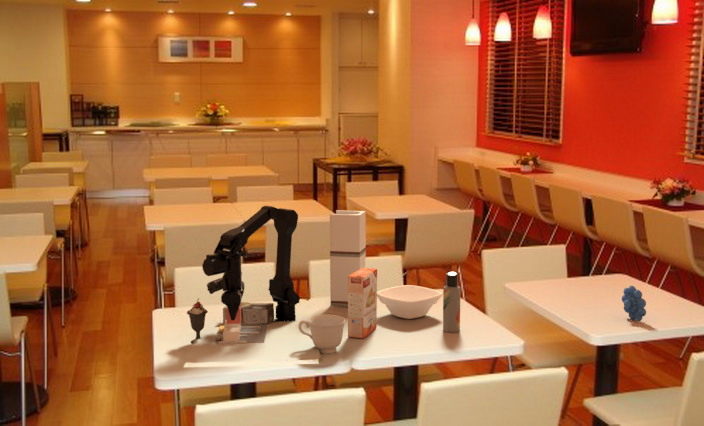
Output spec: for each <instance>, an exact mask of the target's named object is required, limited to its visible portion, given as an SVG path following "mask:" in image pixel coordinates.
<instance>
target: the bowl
mask: <svg viewBox="0 0 704 426" xmlns="http://www.w3.org/2000/svg"><path fill="white" fill-rule="evenodd" d="M441 297H443V293H442V292H441V291H439V290H436V289H432V288H430V287H425V286H419V285H414V284H413V285H412V284H406V285H405V284H404V285H398V286H397V285H396V286H392V287H388V288H384V289H383V288H382V289H381V290H377V299H378V300H379V301H380V303H382V304H383V305H385V307H386V308H387V310H388V311H389V313H390V314H391V315H393V316H395V317H399V318H403V319H408V320H410V319H417V318H421V317H424V316H426V315H427V314H428V313H429V311H430V310H431V309H432V307H433V306H434V305H436V304H437V303H438V302H439V300H440V299H441Z"/></svg>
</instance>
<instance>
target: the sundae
mask: <svg viewBox="0 0 704 426" xmlns="http://www.w3.org/2000/svg"><path fill="white" fill-rule="evenodd" d="M199 300H200V298H199V297H198V298H197V300H196V303H193V305H192V307H191V309H189V310H187V311H186V315H188V316H189V320H190V327H191V329H192V331H194V332H195V338H194V339H193V340H190V343H191V344H194V343H195V341H196V340H201V339H202V338H201V331H202V330H203V329H204V328H205V321H206V315H207V313H209V312H208V310H207V309H206V308H205V307H204V305H203V304H202V303H201V302H200V301H199Z"/></svg>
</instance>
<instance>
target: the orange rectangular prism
mask: <svg viewBox="0 0 704 426" xmlns="http://www.w3.org/2000/svg"><path fill="white" fill-rule="evenodd" d="M226 319H227V324H239V323H241V305H240V306H239V309H238V312H237V315H236V317H235V320H231V318H230V314H229V310H228V307H227V308H226ZM241 324H242V323H241Z"/></svg>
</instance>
